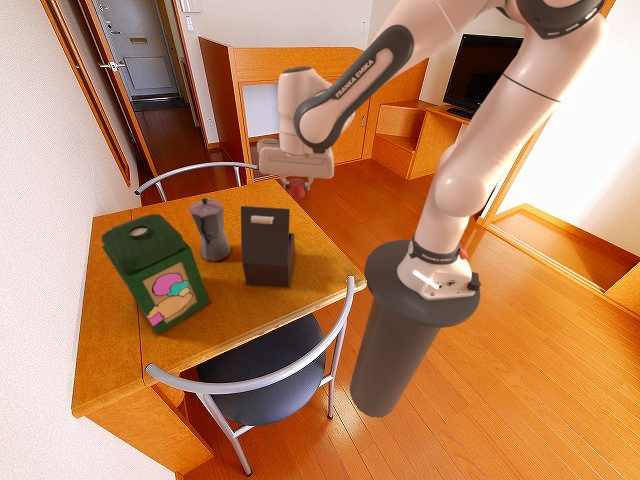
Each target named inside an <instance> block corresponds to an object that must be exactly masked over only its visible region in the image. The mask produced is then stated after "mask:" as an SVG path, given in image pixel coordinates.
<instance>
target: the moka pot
mask: <svg viewBox="0 0 640 480" xmlns="http://www.w3.org/2000/svg"><path fill="white" fill-rule="evenodd" d="M188 210H189V212H190V215H191V217H192V219H193V221H194V224H195V227H196V228H197V231H198V233H199V236H200V248H201V256H202V258H204V259H205V260H206V261H210V262H218V261H221V260H223V259H225V258H227V257H228V256H229V255H230V253H231V246H230V244H229V243H230V242H229V241H228V238H227V236H226V232H225V229H224V228H225V216H224V214H225V212H224V206H223V204H222V203H221V201H220V200H214V199H213V198H212V197H210V198H209V197H208V198H207V197H206V198H205V197H204V198H201V200H199V201H195V202H194V203H193V204H192V205H191V206H189V208H188Z"/></svg>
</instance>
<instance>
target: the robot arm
mask: <svg viewBox="0 0 640 480" xmlns="http://www.w3.org/2000/svg"><path fill="white" fill-rule="evenodd" d="M605 3H606V0H399V1H397V3H396V5H395V6H394V7H393V9H392V11H390V13H389V15H388V16H387V18H386V19H385V21H384V22H383V24H382V25H381V27H380V28H379V29H378V31H377V33H376V35H375V36H374V37H373V39H372V40H371V41H370V43H369V44H368V46H367V47H366V48H365V49H364V50H363V52H361V54H360V56H358V57H357V58H356V60H355V61H354V62H353V63H352V64H351V65H350V66H349V67H348V68H347V69H346V70H345V71H344V72H343V73H342V74H341V75H340V76H339V77H338V78H337V79H336V80H335V81H334V83H331V82H330V81H328V80H327V79H325V78H323V77H322V76H321V75H319V74H318V72H317V71H316V70H315V69H314V67H312V66H307V65H302V66H294V67H290V68H287V69H284V70H283V71H282V72H281V73H280V74H279V76H278V83H277V111H278V114H279V124H278V138H262V139H260V140H258V141H257V143H256V148H257V154H258V155H259V159H258V170H259V172H260V173H261V174H263V175H272V176H279V180H280V181H281V182H282V184H283V189H284V190H289V181H290V180H287V179H286V176H287V177H297V178H307V179H308V180H307V182H306V181H305V184H304V190H305V191H310V188H311V185H312V183H313V182H314V179H326V180H331V179H332V178H333V177H334V175H335V158H334V153H333V152H334V151H333V150H332V147H333V146H334V145H335V144H336V143H337V141H338V139H339V138H340V136H341V135H342V134H343V133H344V132H345V131H346V129H348V128H349V126H350V125H351V124H352V122H353V121H354V119H355V116H356V113H357V111H358V109H359V108H360V107H362V106H363V105H364V104H365V103H366V102H367V101H368V100H369V99H370V98H371V97H372V96H373V95H375V94H376V93H377V92H378V91H379V90H380V89H381V88H382V87H383V86H385V85H386V84H388V82H390V81H391V80H393V79H395V78H396V77H397V76H399V75H400V74H402V73H404V72H406V71H407V70H409V69H411V68H413V67H415V66H417V65H418V64H420V63H421V62H423V61H425V60H426V59H428V58H429V57H431V56H432V55H434V54H435V53H436V52H438V51H439V50H440V49H442V48H443V47H444V46H446V45H447V44H448V43H450V42H451V41H452V40H453V39H454V38H455V37H456V36H457V35H458V34H460V32H462V31H463V30H464V29H465V28H466V27H467V26H469V25H470V24H471V23H472V22H473V21H474V20H475V19H476V18H478V17H479V16H481V15H483V14H484V13H486V12H487V11H489V10H492V9H496V10H497V11H499V12H500V13H501V14H502V15H503V16H505V17H506V18H507V19H508V20H511V21H513V22H516V23H518V24H520V25H523V26H524V30H525V32H524V37H523V41H522V43H521V45H520V48H519V49H518V51H517V54H516V56H515V57H514V58H513V59H512V60H511V62H510V64H509V65H508V66H507V68H506V69H505V70H504V72H503V73H502V74H501V75H500V78H499V79H498V80H497V82H495V84H494V86H493V87H492V89H491V90H490V91H489V93H488V94H487V96H486V98H484V101H483V102H482V103H481V105H480V106H479V108H478V109H477V110H476V112H475V113H474V114H473V116H472V118H471V120H470V122H469V124H468V125H467V127H466V129H465V131H464V132H463V134H462V136H461V137H460V139H459V140H458V141H456V142H454V143H452V144H451V145H450V146H449V147H447V148H446V149H445V150H444V151H443V153H442V154H441V156H440V157H439V160H438V162H437V166H436V168H435V171H434V174H433V178H432V181H431V184H430V188H429V189H428V193H427V196H426V199H425V203H424V206H423V209H422V213H421V215H420V218H419V221H418V224H417V228H416V230H415V231H414V233H413V234H412V237H411V239H410V240H411V241H410V244H409V248H408V252H407V254H406V256H405V258H404V259H403V261H402V262H401V263H400V264H399V266H398V268H397V274H398V277H399V279H400V280H401V281H402V283H403V284H405V285H406V286H407V287H408V288H410V289H412V290H414V291H415V292H417V293H419V294H420V295H421V296H422V297H423V298H424V299H426V300H439V299H449V298H459V297H469V296H473V295H474V293H475V291H476V292H477V290H478V289H479V288H480V287H482V283H481V281H480V277H479V273H478V272H475V271H472V269H471V266H470V263H469V262H468V258H469V255H468V253H467V251H466V250H465V249H463V246H462V244H461V242H460V241H461V239H462V237H463V235H464V232H465V230H466V228H467V227H468V225H469V221H470V217H471V216H473V215H475V214H477V213H478V212H480V211H481V210H482V209H483V208H484V207H485V205H486V204H487V202H488V199H489V198H490V196H491V194H492V192H493V190H494V189H495V188H496V186H497V185H498V184H499V182H500V181H501V179H502V178H503V176H504V175H505V174H506V172H507V171H508V169H509V168H510V166H511V165H512V163H513V162H514V160H515V159H516V157H517V156H518V154H519V153H520V151H521V150H522V149H523V147H524V146H525V145H526V143H527V142H528V141H529V140H530V138H531V137H532V136H533V135H534V134H535V133H536V132H537V130H538V129H539V128H541V126H542V125H543V124H544V123H545V122H546V120H547V119H548V118H549V117H550V116H551V115H552V114H553V113H554V112H555V110H556V109H557V108H558V107H559V106H560V105H561V104H562V102H563V101H564V100H565V99H566V98H567V97H568V96H569V94H571V92H572V91H573V90H574V89H575V88H576V86H577V85H578V83H579V82H580V81H581V80H582V78H583V77H584V75H585V74H586V73H587V72H588V70H589V69H590V68H591V66H592V65H593V63H594V62H595V61H596V59H597V57H598V56H599V55H600V54H601V51H602V50H603V49H604V47H605V45H606V43H607V41H608V39H609V35H610V26H609V23H608V21H607V20H606V19H605V17H604V16H603V14H601V13H600V12H601V10H602V9H603V8H604V6H605ZM595 9H596V10H595ZM431 295H432V296H431Z"/></svg>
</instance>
